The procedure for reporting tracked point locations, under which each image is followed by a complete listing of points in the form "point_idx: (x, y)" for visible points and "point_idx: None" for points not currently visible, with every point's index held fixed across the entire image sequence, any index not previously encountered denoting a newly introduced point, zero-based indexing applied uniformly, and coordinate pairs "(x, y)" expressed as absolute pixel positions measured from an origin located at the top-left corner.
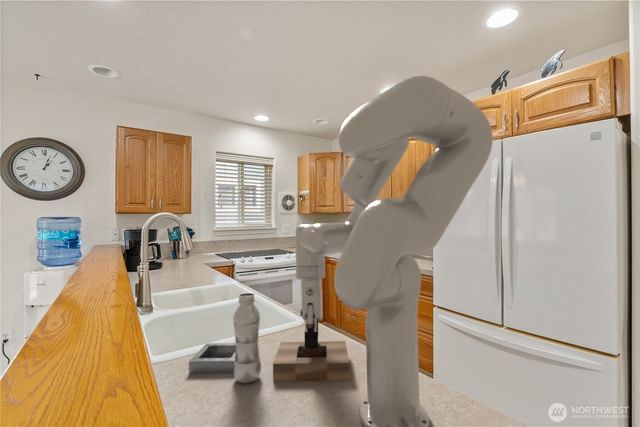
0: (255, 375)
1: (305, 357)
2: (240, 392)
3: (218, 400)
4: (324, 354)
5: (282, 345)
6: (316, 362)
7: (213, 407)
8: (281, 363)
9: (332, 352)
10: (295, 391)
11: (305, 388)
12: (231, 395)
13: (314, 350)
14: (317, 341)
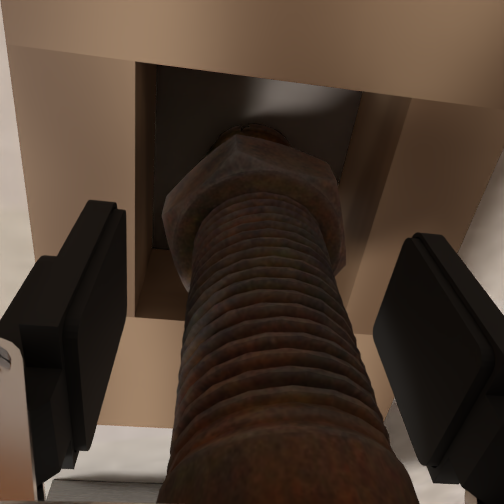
0: None
1: (150, 219)
2: (399, 451)
3: (423, 493)
4: (149, 67)
5: (117, 411)
6: (468, 200)
7: (458, 496)
8: (390, 404)
9: (317, 12)
10: (486, 268)
11: (482, 220)
12: (408, 470)
13: (342, 227)
14: (469, 273)
